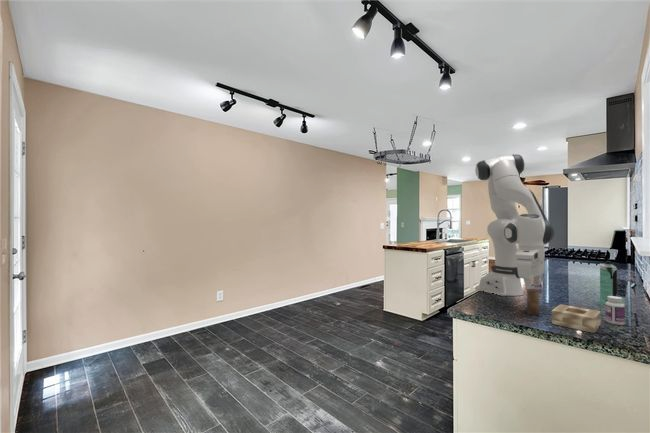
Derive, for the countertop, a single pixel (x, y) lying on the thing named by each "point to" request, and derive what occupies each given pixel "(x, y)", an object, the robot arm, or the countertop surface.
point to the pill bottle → (615, 310)
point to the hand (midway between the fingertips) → (532, 286)
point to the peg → (533, 302)
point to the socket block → (576, 318)
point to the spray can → (607, 282)
